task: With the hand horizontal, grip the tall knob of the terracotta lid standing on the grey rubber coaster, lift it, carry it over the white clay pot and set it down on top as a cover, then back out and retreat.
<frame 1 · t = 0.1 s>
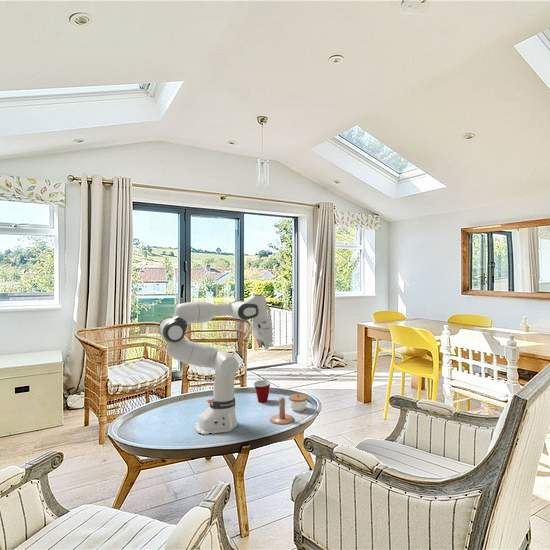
hand: (263, 347, 207), 39 cm above the table, tool pointing down, fingers open, 8 cm apart
coaster: (282, 420, 202), on the table
lidded jar: (298, 410, 216), on the table
lid: (282, 419, 202), resting on coaster
plastic cup: (262, 401, 232), on the table
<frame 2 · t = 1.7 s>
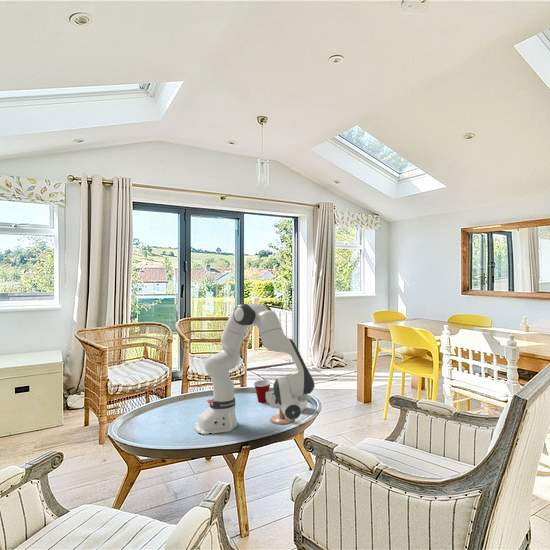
hand: (284, 390, 190), 20 cm above the table, tool horizontal, fingers open, 8 cm apart
nothing on the table moved.
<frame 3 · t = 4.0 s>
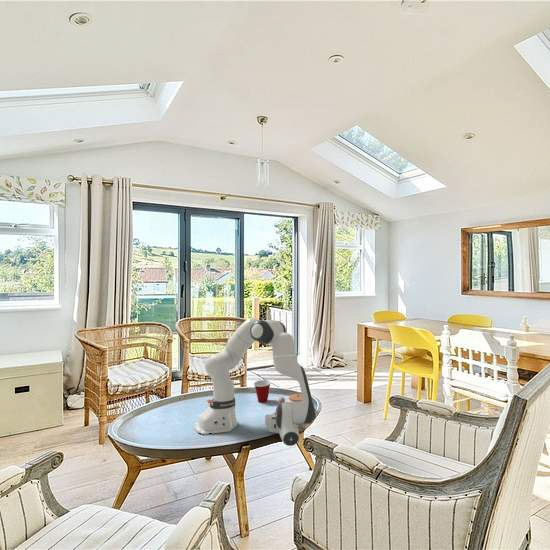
hand: (283, 413, 194), 7 cm above the table, tool horizontal, fingers open, 8 cm apart
nothing on the table moved.
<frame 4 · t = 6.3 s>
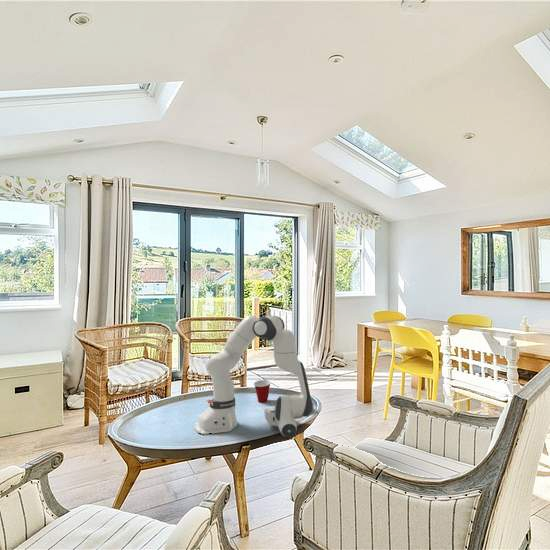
hand: (281, 407, 203), 7 cm above the table, tool horizontal, fingers closed on lid, 3 cm apart
lid: (282, 419, 202), resting on coaster, touching gripper
everything else where it was.
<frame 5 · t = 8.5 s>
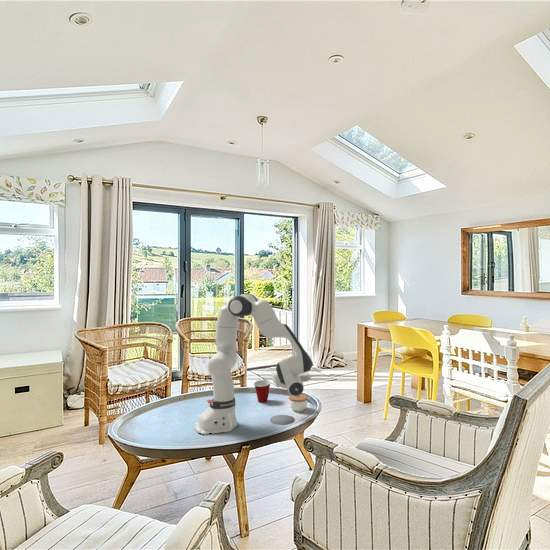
hand: (289, 372, 208), 24 cm above the table, tool horizontal, fingers closed on lid, 3 cm apart
lid: (289, 385, 207), point 17 cm above the table, touching gripper
everything else where it was.
when the fingers open (17 cm above the table, at t = 10.7 s): lid stays where it is, resting on lidded jar.
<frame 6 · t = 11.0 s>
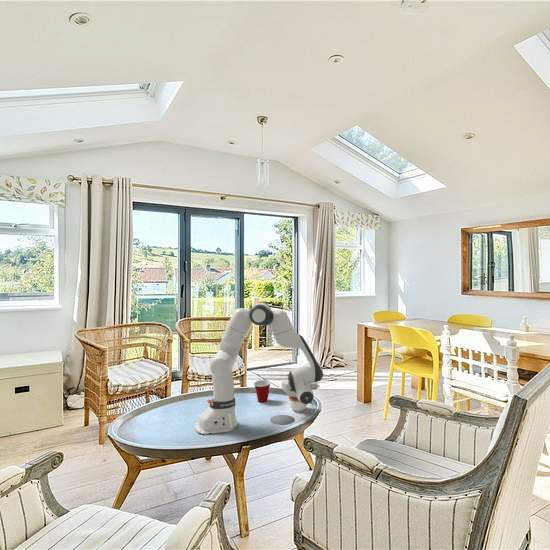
hand: (297, 380, 217), 17 cm above the table, tool horizontal, fingers open, 5 cm apart
lidded jar: (298, 410, 216), on the table, touching lid
lid: (298, 394, 216), point 9 cm above the table, touching lidded jar
everything else where it was.
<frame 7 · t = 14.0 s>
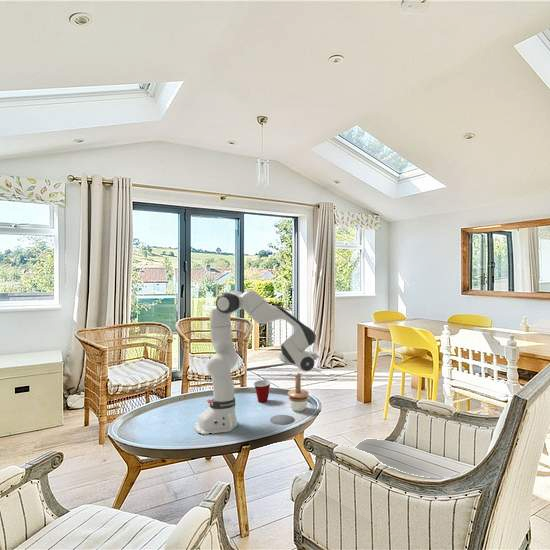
hand: (295, 353, 204), 36 cm above the table, tool horizontal, fingers open, 8 cm apart
nothing on the table moved.
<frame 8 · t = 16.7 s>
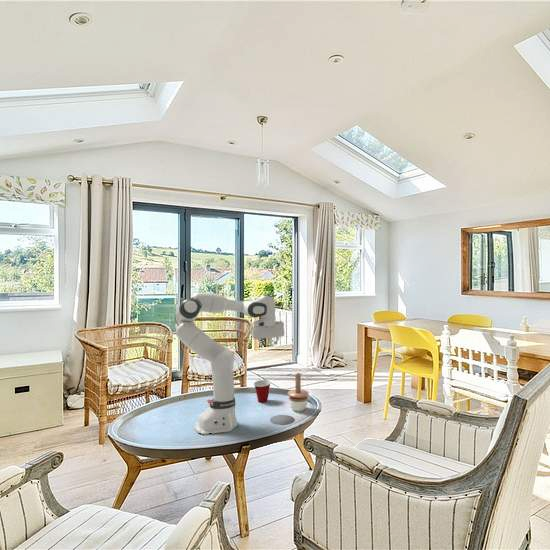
hand: (268, 345, 221), 37 cm above the table, tool pointing down, fingers open, 8 cm apart
nothing on the table moved.
at the end: lid inside the target area on the lidded jar (0.1 cm from its centre), point 9.6 cm above the lidded jar's base; lid tilted 0°; the gripper is holding nothing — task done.
